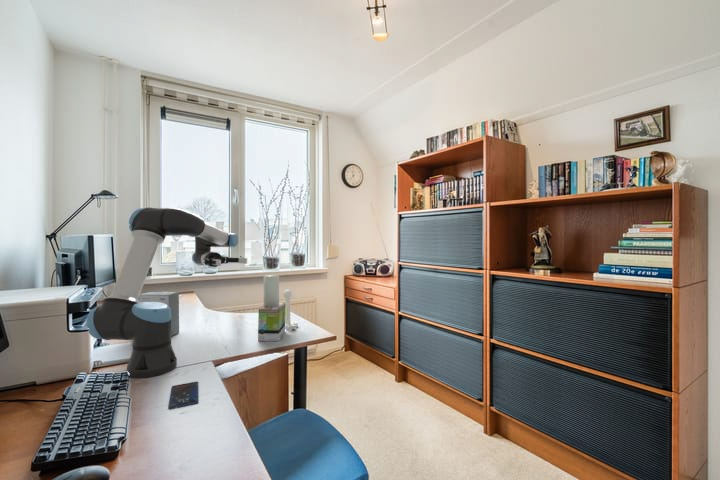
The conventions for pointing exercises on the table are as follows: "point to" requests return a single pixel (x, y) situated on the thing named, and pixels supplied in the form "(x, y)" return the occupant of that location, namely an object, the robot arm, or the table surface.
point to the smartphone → (183, 395)
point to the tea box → (271, 323)
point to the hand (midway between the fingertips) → (233, 261)
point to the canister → (271, 290)
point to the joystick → (288, 311)
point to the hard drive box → (170, 300)
